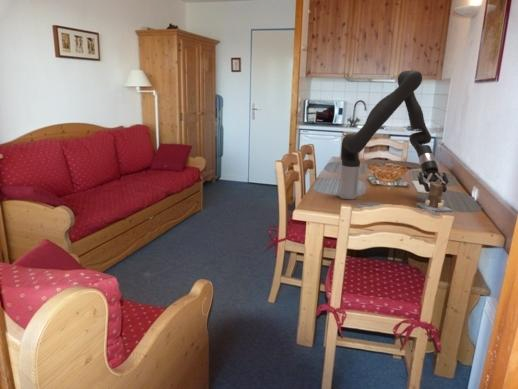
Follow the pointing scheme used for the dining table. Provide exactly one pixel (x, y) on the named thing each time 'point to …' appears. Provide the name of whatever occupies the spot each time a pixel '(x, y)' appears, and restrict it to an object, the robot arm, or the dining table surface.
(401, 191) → the dining table surface
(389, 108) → the robot arm
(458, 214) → the dining table surface
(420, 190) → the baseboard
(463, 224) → the dining table surface
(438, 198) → the brown rectangular block
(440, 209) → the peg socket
